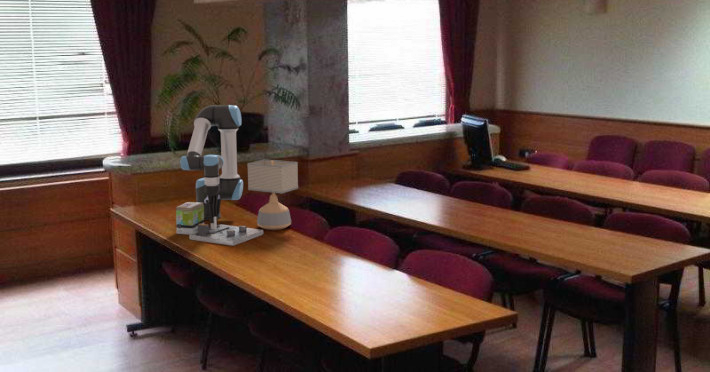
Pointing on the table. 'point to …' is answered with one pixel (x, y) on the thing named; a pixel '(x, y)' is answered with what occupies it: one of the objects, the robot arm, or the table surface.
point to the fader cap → (203, 229)
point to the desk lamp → (273, 190)
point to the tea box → (189, 217)
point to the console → (227, 235)
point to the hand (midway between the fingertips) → (213, 228)
